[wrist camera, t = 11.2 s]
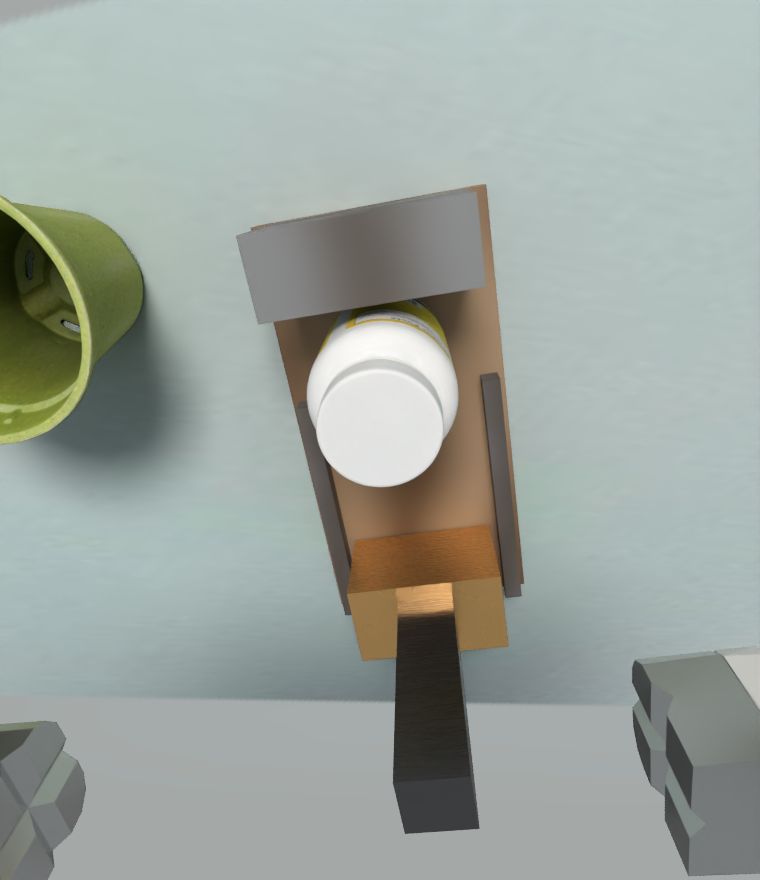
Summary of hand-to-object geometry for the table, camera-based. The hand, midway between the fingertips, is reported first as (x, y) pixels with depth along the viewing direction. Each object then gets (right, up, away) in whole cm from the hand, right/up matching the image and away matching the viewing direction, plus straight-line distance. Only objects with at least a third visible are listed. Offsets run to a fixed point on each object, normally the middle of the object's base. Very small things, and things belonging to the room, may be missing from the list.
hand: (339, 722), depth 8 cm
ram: (+3, -3, +23) cm, 24 cm away
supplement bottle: (+1, +8, +19) cm, 21 cm away
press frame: (+2, +5, +22) cm, 23 cm away
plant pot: (-14, +12, +20) cm, 27 cm away
